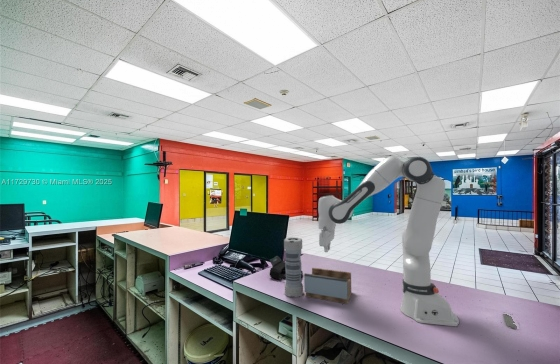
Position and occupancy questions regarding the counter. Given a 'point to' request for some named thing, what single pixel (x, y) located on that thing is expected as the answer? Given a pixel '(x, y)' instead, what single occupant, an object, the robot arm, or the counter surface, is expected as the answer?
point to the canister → (293, 267)
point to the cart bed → (336, 275)
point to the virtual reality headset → (279, 269)
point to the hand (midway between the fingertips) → (327, 251)
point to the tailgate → (325, 285)
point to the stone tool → (509, 321)
